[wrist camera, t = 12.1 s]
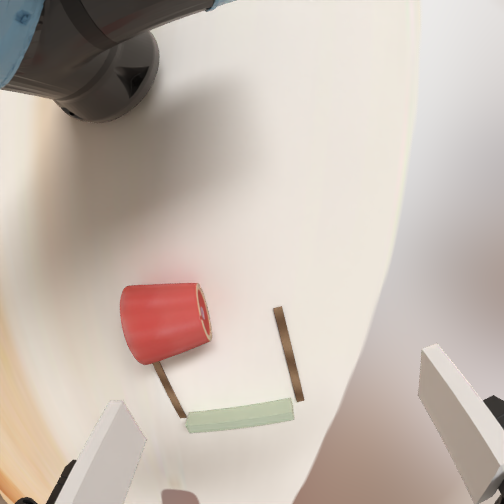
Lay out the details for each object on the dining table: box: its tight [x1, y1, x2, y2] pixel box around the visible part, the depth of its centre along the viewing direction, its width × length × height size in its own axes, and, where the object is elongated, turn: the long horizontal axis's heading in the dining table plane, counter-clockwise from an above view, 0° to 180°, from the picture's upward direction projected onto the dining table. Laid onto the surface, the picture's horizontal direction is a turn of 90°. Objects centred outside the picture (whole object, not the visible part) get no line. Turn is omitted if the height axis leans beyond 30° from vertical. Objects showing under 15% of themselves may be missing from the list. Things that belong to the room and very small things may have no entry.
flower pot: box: [120, 283, 212, 365], centre depth 40 cm, size 11×11×10 cm
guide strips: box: [152, 307, 304, 418], centre depth 47 cm, size 18×22×1 cm
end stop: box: [185, 398, 294, 433], centre depth 48 cm, size 2×18×4 cm, turn 104°
